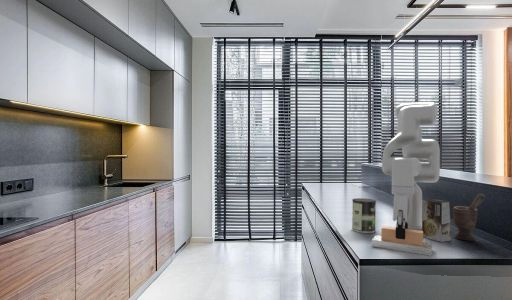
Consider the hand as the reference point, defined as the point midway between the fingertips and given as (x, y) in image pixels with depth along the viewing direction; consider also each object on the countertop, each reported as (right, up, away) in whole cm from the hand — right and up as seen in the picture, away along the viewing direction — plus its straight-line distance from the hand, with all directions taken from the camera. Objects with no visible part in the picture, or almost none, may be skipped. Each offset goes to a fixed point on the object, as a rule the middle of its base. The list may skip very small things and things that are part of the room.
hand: (401, 235), depth 121 cm
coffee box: (+21, -5, +14) cm, 26 cm away
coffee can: (-6, -5, +26) cm, 27 cm away
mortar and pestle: (+34, -6, +14) cm, 37 cm away
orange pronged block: (0, -5, 0) cm, 5 cm away
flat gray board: (0, -5, 0) cm, 5 cm away
